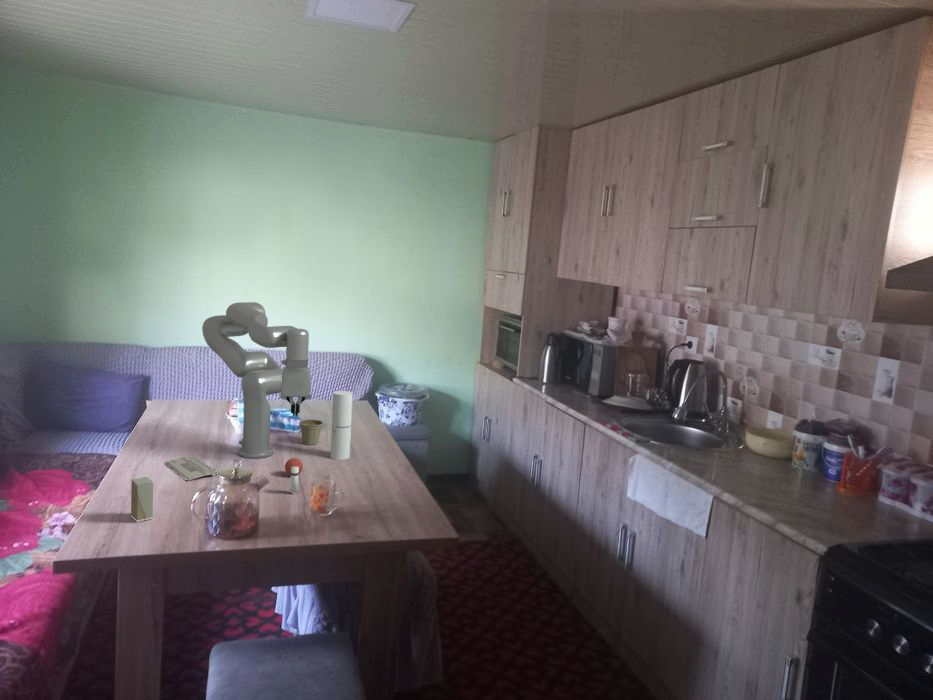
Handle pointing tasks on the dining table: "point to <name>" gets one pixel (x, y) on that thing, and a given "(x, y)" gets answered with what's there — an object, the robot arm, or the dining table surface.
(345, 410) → the cylindrical container
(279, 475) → the dining table surface
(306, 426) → the flower pot
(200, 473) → the newspaper
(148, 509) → the box
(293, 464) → the ball
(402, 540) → the dining table surface
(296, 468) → the white pin
